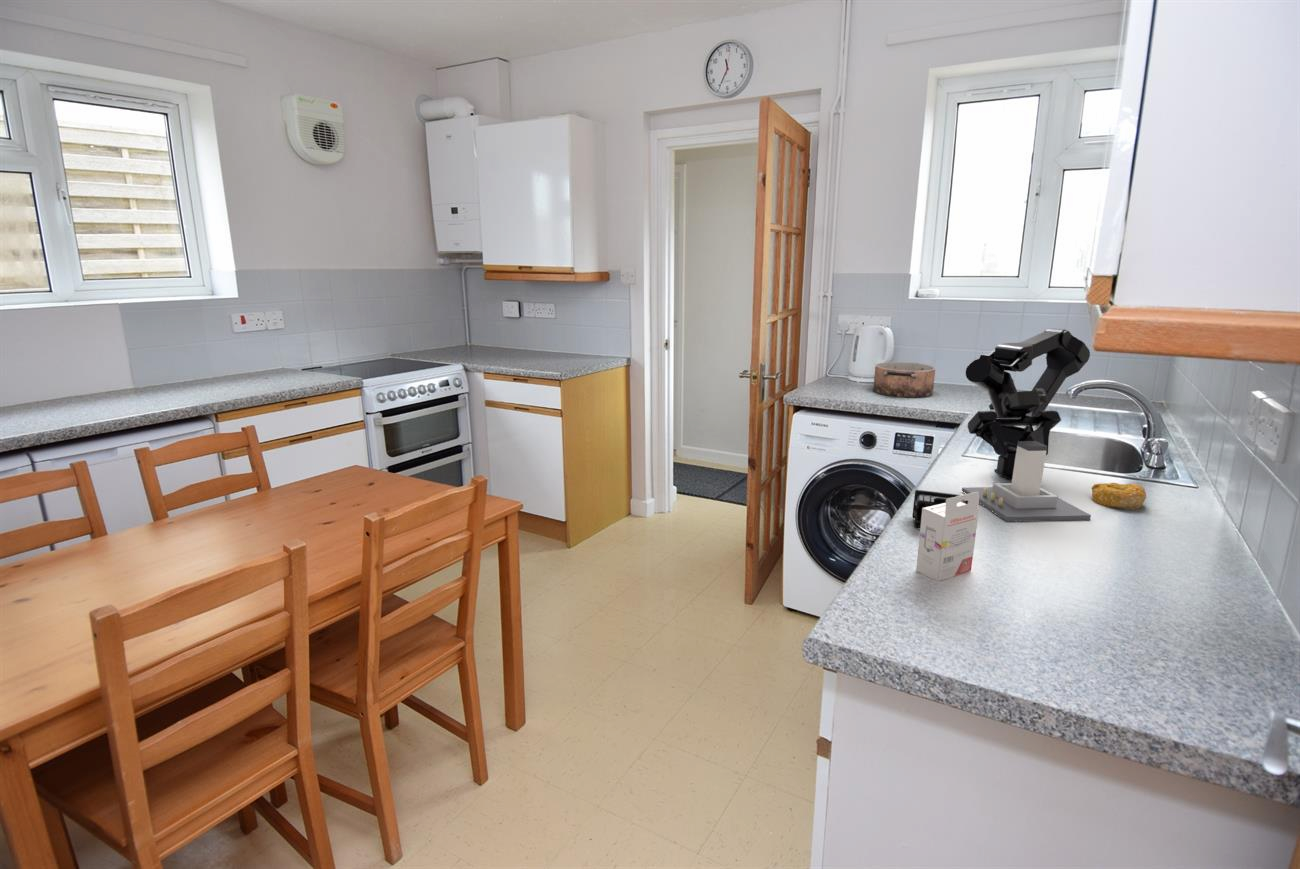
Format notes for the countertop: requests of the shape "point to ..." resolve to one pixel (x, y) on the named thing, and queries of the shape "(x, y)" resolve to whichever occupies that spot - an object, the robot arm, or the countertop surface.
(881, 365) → the cooking pot
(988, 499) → the header dock
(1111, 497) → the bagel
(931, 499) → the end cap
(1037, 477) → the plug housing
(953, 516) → the ink cartridge box
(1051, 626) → the countertop surface
